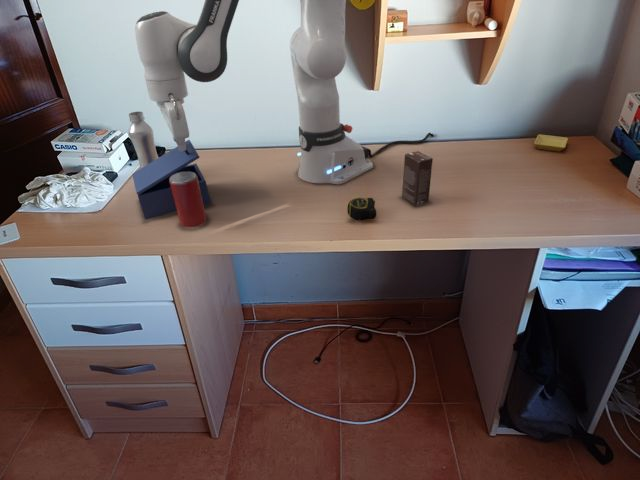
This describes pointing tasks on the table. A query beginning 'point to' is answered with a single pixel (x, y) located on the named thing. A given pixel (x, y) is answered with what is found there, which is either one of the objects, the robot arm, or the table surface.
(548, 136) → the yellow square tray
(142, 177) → the lid
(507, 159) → the table surface
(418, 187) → the box
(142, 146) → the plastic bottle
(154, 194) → the box
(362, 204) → the tape measure
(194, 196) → the can
